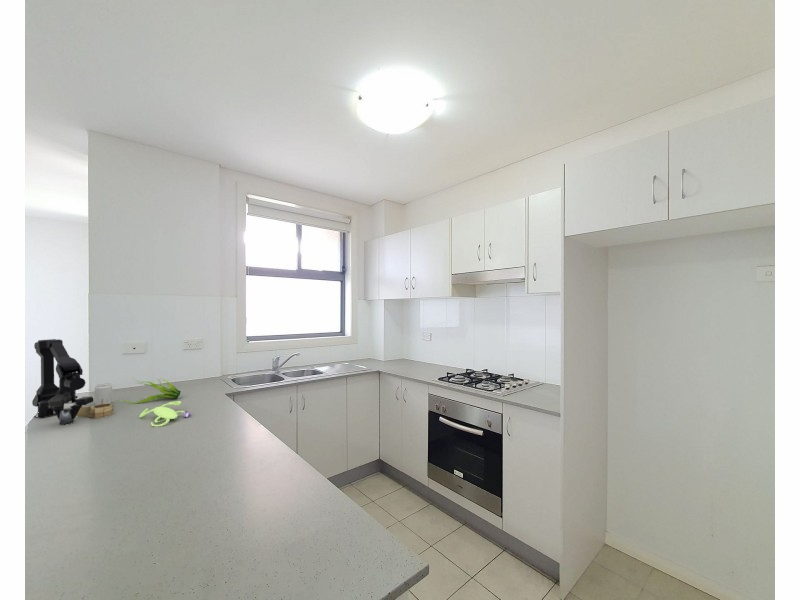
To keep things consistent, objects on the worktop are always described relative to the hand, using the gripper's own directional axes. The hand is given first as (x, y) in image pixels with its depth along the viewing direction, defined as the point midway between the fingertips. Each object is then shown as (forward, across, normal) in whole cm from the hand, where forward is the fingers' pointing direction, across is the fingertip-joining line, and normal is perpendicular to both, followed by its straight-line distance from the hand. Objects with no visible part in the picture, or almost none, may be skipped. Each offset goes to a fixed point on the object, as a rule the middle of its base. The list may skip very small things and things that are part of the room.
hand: (66, 419), depth 158 cm
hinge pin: (+2, 0, 0) cm, 2 cm away
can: (+2, -2, +30) cm, 30 cm away
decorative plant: (+2, +20, +31) cm, 37 cm away
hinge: (+2, +5, +12) cm, 13 cm away
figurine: (+3, +42, +1) cm, 42 cm away
